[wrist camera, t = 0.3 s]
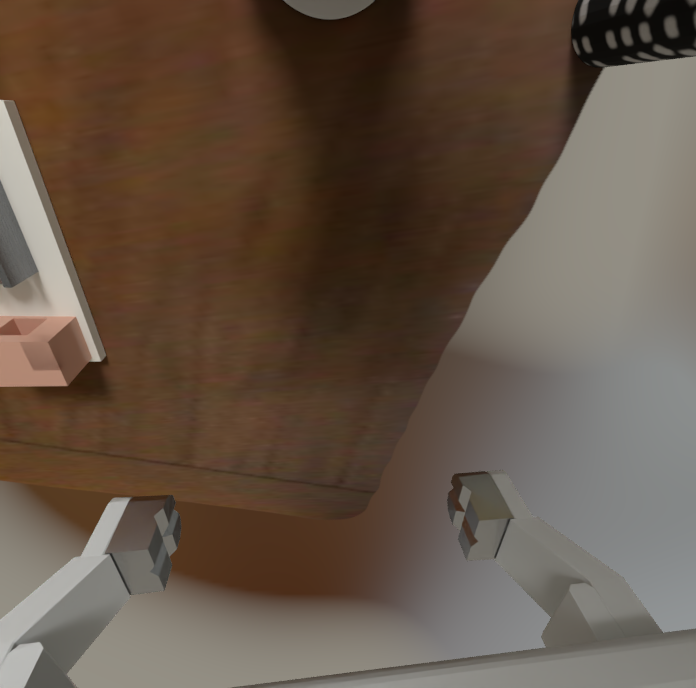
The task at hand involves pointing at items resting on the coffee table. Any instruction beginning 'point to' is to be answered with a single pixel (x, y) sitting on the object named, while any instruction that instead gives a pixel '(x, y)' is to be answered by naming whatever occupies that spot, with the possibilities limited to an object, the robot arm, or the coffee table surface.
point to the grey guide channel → (13, 247)
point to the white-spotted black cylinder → (633, 31)
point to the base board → (39, 239)
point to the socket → (41, 350)
